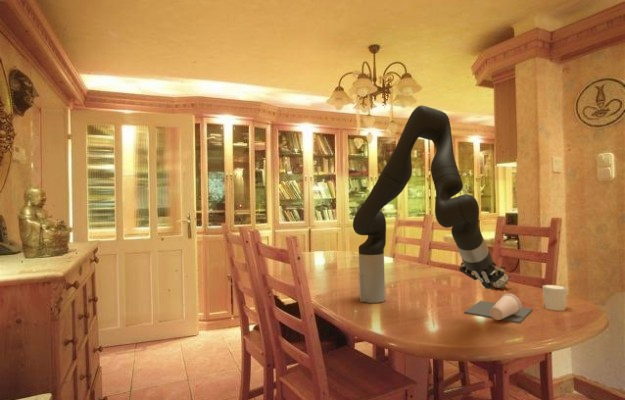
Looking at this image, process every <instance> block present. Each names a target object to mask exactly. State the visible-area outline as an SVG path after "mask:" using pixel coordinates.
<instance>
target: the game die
mask: <svg viewBox="0 0 625 400" xmlns="http://www.w3.org/2000/svg"><path fill="white" fill-rule="evenodd" d="M494 272H495V270H494V271H493V272H492V273H491V275H493V273H494ZM511 277H512V276H511V275H508V274H506V273H505V272H504V276H503V277H501V278H500V279H499V280H498V281H496V282H493V287H494V288H495V290H496V291H497V290H498V289H500V288H504V289H507V287H506V286H507V284H509V282H508V281H509V278H511Z"/></svg>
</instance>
